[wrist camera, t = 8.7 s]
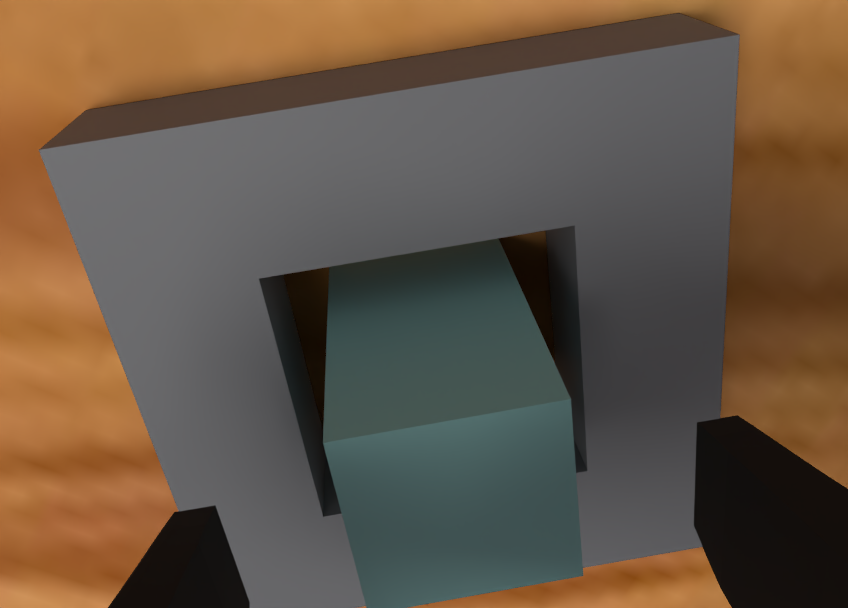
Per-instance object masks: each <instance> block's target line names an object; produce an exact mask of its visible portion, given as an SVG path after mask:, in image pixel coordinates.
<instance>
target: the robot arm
mask: <svg viewBox="0 0 848 608" xmlns="http://www.w3.org/2000/svg"><path fill="white" fill-rule="evenodd" d="M694 527H695V529H696V532H697V534H698V537H699V539H700V541H701V544H702V546H703V549H704V551H705V553H706V556H707V558H708V561H709V563H710V565H711V567H712V570H713V572H714V574H715V576H716V579H717V581H718V583H719V585H720V588H721V589H722V591H723V593H724V595H725V596H726V598H727V600H728V602H729V604H730V605H731V607H732V608H848V489H847V488H845V487H844V486H842V485H841V484H839V483H838V482H836V481H834V480H833V479H831V478H830V477H828V476H827V475H825V474H824V473H822V472H821V471H819V470H818V469H816V468H815V467H813V466H812V465H810V464H809V463H807V462H806V461H804V460H803V459H801V458H800V457H798V456H797V455H795V454H794V453H792V452H791V451H789V450H788V449H787V448H785V447H784V446H782V445H781V444H779V443H778V442H776V441H775V440H773V439H772V438H770V437H769V436H767V435H766V434H765V433H763V432H762V431H760V430H759V429H757V428H756V427H754V426H753V425H751V424H750V423H748V422H747V421H745V420H744V419H742V418H740V417H739V416H732V417H726V418H720V419H714V420H708V421H702V422H697V434H696V467H695V499H694ZM108 608H250V602H249V599H248V596H247V593H246V590H245V588H244V585H243V582H242V579H241V576H240V573H239V571H238V568H237V565H236V562H235V559H234V556H233V554H232V551H231V548H230V545H229V542H228V540H227V537H226V534H225V531H224V528H223V525H222V523H221V520H220V517H219V514H218V511H217V508H216V506H215V505H214V506H208V507H202V508H197V509H191V510H185V511H179V512H174V514H173V515H172V516H171V518H170V519H169V520H168V522H167V523H166V525H165V526H164V527H163V529H162V530H161V532H160V533H159V535H158V536H157V537H156V539H155V540H154V542H153V543H152V545H151V546H150V548H149V549H148V551H147V552H146V554H145V555H144V557H143V558H142V559H141V561H140V562H139V564H138V565H137V567H136V568H135V570H134V571H133V573H132V574H131V576H130V577H129V578H128V580H127V581H126V583H125V584H124V586H123V587H122V589H121V590H120V591H119V593H118V594H117V596H116V597H115V598H114V600H113V601H112V603H111V604H110V605H109V607H108Z"/></svg>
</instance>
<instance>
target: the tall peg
mask: <svg viewBox="0 0 848 608" xmlns="http://www.w3.org/2000/svg"><path fill="white" fill-rule="evenodd" d="M323 445H324V449H325V453H326V457H327V460H328V464H329V468H330V472H331V475H332V479H333V483H334V487H335V490H336V494H337V498H338V502H339V505H340V509H341V513H342V517H343V521H344V524H345V528H346V532H347V536H348V539H349V543H350V547H351V551H352V554H353V558H354V562H355V566H356V570H357V573H358V577H359V581H360V585H361V588H362V592H363V596H364V600H365V603H366V607H367V608H407V607H412V606H418V605H423V604H429V603H434V602H440V601H446V600H451V599H457V598H462V597H468V596H473V595H479V594H484V593H490V592H496V591H501V590H507V589H512V588H518V587H523V586H529V585H535V584H540V583H546V582H551V581H557V580H562V579H568V578H573V577H579V576H583V564H582V550H581V536H580V522H579V507H578V493H577V479H576V465H575V451H574V436H573V422H572V408H571V398H570V396H569V394H568V392H567V389H566V387H565V385H564V383H563V380H562V378H561V376H560V374H559V372H558V369H557V367H556V365H555V363H554V361H553V358H552V356H551V354H550V352H549V349H548V347H547V345H546V343H545V341H544V338H543V336H542V334H541V332H540V329H539V327H538V325H537V323H536V321H535V318H534V316H533V314H532V312H531V309H530V307H529V305H528V303H527V301H526V298H525V296H524V294H523V292H522V289H521V287H520V285H519V283H518V281H517V278H516V276H515V274H514V272H513V269H512V267H511V265H510V263H509V261H508V258H507V256H506V254H505V252H504V249H503V247H502V245H501V243H500V241H499V238H498V239H492V240H486V241H480V242H474V243H468V244H462V245H456V246H450V247H444V248H438V249H432V250H426V251H420V252H414V253H408V254H402V255H396V256H390V257H385V258H379V259H373V260H367V261H361V262H355V263H349V264H343V265H337V266H331V267H329V287H328V315H327V343H326V371H325V399H324V427H323Z"/></svg>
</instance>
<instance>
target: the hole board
mask: <svg viewBox="0 0 848 608" xmlns="http://www.w3.org/2000/svg"><path fill="white" fill-rule="evenodd" d="M739 36H740V35H739V34H736V33H733V32H731V31H728V30H725V29H722V28H719V27H717V26H714V25H711V24H708V23H705V22H702V21H700V20H697V19H694V18H691V17H688V16H686V15H683V14H680V13H676V14H669V15H663V16H657V17H651V18H645V19H639V20H633V21H627V22H621V23H615V24H609V25H602V26H596V27H590V28H584V29H578V30H572V31H566V32H560V33H554V34H548V35H541V36H535V37H529V38H523V39H517V40H511V41H505V42H499V43H493V44H487V45H480V46H474V47H468V48H462V49H456V50H450V51H444V52H438V53H432V54H426V55H419V56H413V57H407V58H401V59H395V60H389V61H383V62H377V63H371V64H365V65H358V66H352V67H346V68H340V69H334V70H328V71H322V72H316V73H310V74H304V75H297V76H291V77H285V78H279V79H273V80H267V81H261V82H255V83H249V84H243V85H237V86H230V87H224V88H218V89H212V90H206V91H200V92H194V93H188V94H182V95H176V96H169V97H163V98H157V99H151V100H145V101H139V102H133V103H127V104H121V105H115V106H108V107H102V108H96V109H90V110H86V111H84V112H83V113H82V114H81V115H80V116H78V117H77V118H76V119H75V120H74V121H73V122H71V123H70V124H69V125H68V126H67V127H65V128H64V129H63V130H62V131H61V132H60V133H58V134H57V135H56V136H55V137H54V138H52V139H51V140H50V141H49V142H48V143H47V144H45V145H44V146H43V147H42V148H41V149H39V152H40V154H41V157H42V159H43V162H44V165H45V167H46V170H47V172H48V175H49V178H50V180H51V183H52V185H53V188H54V190H55V193H56V196H57V198H58V201H59V203H60V206H61V208H62V211H63V214H64V216H65V219H66V221H67V224H68V227H69V229H70V232H71V234H72V237H73V239H74V242H75V245H76V247H77V250H78V252H79V255H80V258H81V260H82V263H83V265H84V268H85V270H86V273H87V276H88V278H89V281H90V283H91V286H92V288H93V291H94V294H95V296H96V299H97V301H98V304H99V307H100V309H101V312H102V314H103V317H104V319H105V322H106V325H107V327H108V330H109V332H110V335H111V337H112V340H113V343H114V345H115V348H116V350H117V353H118V356H119V358H120V361H121V363H122V366H123V368H124V371H125V374H126V376H127V379H128V381H129V384H130V387H131V389H132V392H133V394H134V397H135V399H136V402H137V405H138V407H139V410H140V412H141V415H142V417H143V420H144V423H145V425H146V428H147V430H148V433H149V436H150V438H151V441H152V443H153V446H154V448H155V451H156V454H157V456H158V459H159V461H160V464H161V467H162V469H163V472H164V474H165V477H166V479H167V482H168V485H169V487H170V490H171V492H172V495H173V497H174V500H175V503H176V505H177V508H178V510H179V511H185V510H191V509H197V508H202V507H208V506H214V505H215V506H216V508H217V511H218V514H219V517H220V520H221V523H222V525H223V528H224V531H225V534H226V537H227V540H228V542H229V545H230V548H231V551H232V554H233V556H234V559H235V562H236V565H237V568H238V571H239V573H240V576H241V579H242V582H243V585H244V588H245V590H246V593H247V596H248V599H249V602H250V608H357V607H362V606H366V603H365V600H364V596H363V592H362V588H361V585H360V581H359V577H358V573H357V570H356V566H355V562H354V558H353V554H352V551H351V547H350V543H349V539H348V536H347V532H346V528H345V524H344V521H343V517H342V513H341V509H340V505H339V502H338V498H337V494H336V490H335V487H334V483H333V479H332V475H331V472H330V468H329V464H328V460H327V457H326V453H325V449H324V445H323V429H322V425H321V421H320V417H319V414H318V410H317V406H316V402H315V398H314V394H313V390H312V386H311V382H310V378H309V374H308V370H307V366H306V362H305V358H304V354H303V350H302V346H301V342H300V339H299V335H298V331H297V327H296V323H295V319H294V315H293V311H292V307H291V303H290V299H289V295H288V291H287V287H286V283H285V279H284V275H283V274H289V273H295V272H301V271H307V270H313V269H319V268H325V267H331V266H337V265H343V264H349V263H355V262H361V261H367V260H373V259H379V258H385V257H390V256H396V255H402V254H408V253H414V252H420V251H426V250H432V249H438V248H444V247H450V246H456V245H462V244H468V243H474V242H480V241H486V240H492V239H498V238H503V237H509V236H515V235H521V234H527V233H533V232H539V231H545V230H546V243H547V257H548V271H549V285H550V299H551V313H552V327H553V340H554V354H555V365H556V367H557V369H558V372H559V374H560V376H561V378H562V380H563V383H564V385H565V387H566V389H567V392H568V394H569V396H570V398H571V408H572V422H573V436H574V451H575V465H576V479H577V493H578V507H579V522H580V536H581V550H582V564H583V568H584V567H590V566H596V565H602V564H607V563H613V562H619V561H624V560H630V559H636V558H641V557H647V556H653V555H659V554H664V553H670V552H676V551H681V550H687V549H693V548H698V547H703V546H702V544H701V541H700V539H699V537H698V534H697V532H696V529H695V527H694V499H695V467H696V434H697V422H702V421H708V420H714V419H720V412H721V392H722V372H723V352H724V333H725V313H726V293H727V273H728V254H729V234H730V214H731V194H732V174H733V155H734V135H735V115H736V95H737V76H738V56H739Z"/></svg>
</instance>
